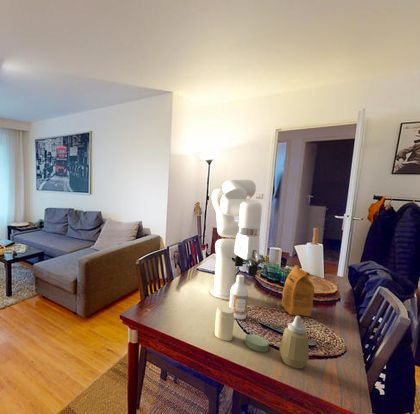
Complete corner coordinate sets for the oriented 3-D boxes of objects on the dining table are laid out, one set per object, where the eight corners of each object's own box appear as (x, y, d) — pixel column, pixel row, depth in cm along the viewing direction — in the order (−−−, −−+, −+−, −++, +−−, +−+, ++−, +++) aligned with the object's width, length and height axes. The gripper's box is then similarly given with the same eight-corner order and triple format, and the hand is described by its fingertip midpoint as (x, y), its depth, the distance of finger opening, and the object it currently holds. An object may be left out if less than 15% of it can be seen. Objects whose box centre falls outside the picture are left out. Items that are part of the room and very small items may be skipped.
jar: (221, 329, 118) (223, 303, 117) (235, 337, 113) (238, 310, 111) (211, 333, 116) (213, 307, 114) (225, 342, 110) (228, 314, 108)
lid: (271, 353, 103) (271, 347, 103) (248, 349, 106) (248, 343, 105) (264, 341, 110) (265, 336, 110) (242, 338, 113) (243, 332, 112)
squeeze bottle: (272, 356, 102) (277, 311, 99) (292, 354, 102) (298, 309, 100) (292, 372, 94) (298, 323, 91) (314, 370, 94) (320, 322, 92)
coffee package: (302, 306, 137) (307, 264, 134) (314, 319, 126) (320, 273, 122) (278, 303, 141) (282, 262, 138) (287, 315, 129) (292, 271, 126)
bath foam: (230, 318, 127) (234, 277, 124) (226, 311, 134) (230, 272, 131) (248, 321, 125) (251, 279, 122) (243, 313, 131) (246, 273, 129)
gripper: (228, 226, 123) (225, 263, 125) (251, 236, 106) (248, 278, 108) (245, 226, 122) (242, 263, 125) (272, 236, 105) (267, 278, 108)
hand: (245, 270), depth 117 cm, fingers open, 9 cm apart
